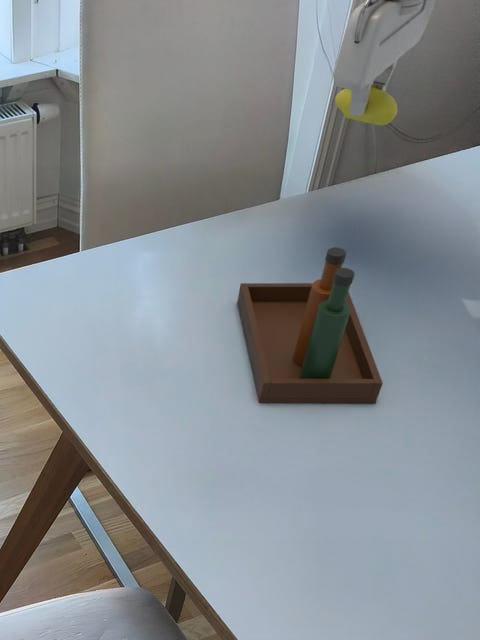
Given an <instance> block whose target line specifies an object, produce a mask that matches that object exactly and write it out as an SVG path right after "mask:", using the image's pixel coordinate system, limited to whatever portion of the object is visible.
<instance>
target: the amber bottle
mask: <svg viewBox="0 0 480 640" xmlns="http://www.w3.org/2000/svg"><path fill="white" fill-rule="evenodd" d="M346 256H347V250H345V249H344V248H342V247H339V246H338V247H337V246H334V247H330V248H328V249H327V251H326V254H325V258H324V260H325V262H324V267H323V270H322V273H321V278H320V279H316V280H314V281H313V282H312V283H313V284H312V287H311V291H310V294H309V298H308V302H307V306H306V310H305V314H304V318H303V321H302V325H301V329H300V333H299V337H298V341H297V344H296V348H295V352H294V356H293V360H294V362H295V363H296V364H297V365H299V366H303V363H304V359H305V355H306V352H307V348H308V344H309V341H310V337H311V333H312V329H313V326H314V322H315V318H316V315H317V311H318V307H319V304H320V303H321V302H323V301H325V300H328V299H329V296H330V292H331V288H332V285H333V277H334V274H335V271H336V270H337V269H339V268H343V267H342V266H343V264H344V262H345V260H346Z"/></svg>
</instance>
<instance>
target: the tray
mask: <svg viewBox="0 0 480 640" xmlns="http://www.w3.org/2000/svg"><path fill="white" fill-rule="evenodd" d="M312 284H313V282H290V283H289V282H287V283H286V282H281V283H280V282H278V283H277V282H276V283H275V282H273V283H272V282H271V283H270V282H268V283H267V282H265V283H263V282H261V283H259V282H258V283H253V282H252V283H250V282H249V283H248V282H247V283H246V282H244V283H243V282H242V283H240V286H239V291H238V295H237V303H236V304H237V308H238V312H239V317H240V322H241V326H242V331H243V335H244V339H245V340H244V341H245V345H246V350H247V354H248V359H249V362H250V367H251V372H252V377H253V381H254V385H255V390H256V395H257V400H258V403H261V404H262V403H263V404H264V403H265V404H266V403H267V404H268V403H269V404H376V403H377V401H378V397H379V395H380V392H381V389H382V387H383V384H384V383H383V380H382V377H381V375H380V372H379V370H378V366H377V363H376V361H375V358H374V356H373V352H372V350H371V348H370V346H369V343H368V340H367V337H366V335H365V332H364V330H363V329H364V328H363V327H362V324H361V321H360V319H359V316H358V313H357V311H356V308H355V305H354V303H353V300H352V296H351V294H350V291H348V295H347V298H346V302H345V303H347V304H348V305H349V306H350V308H351V311H350V314H349V318H348V321H347V324H346V328H345V331H344V334H343V338H342V341H341V344H340V347H339V351H338V354H337V357H336V361H335V364H334V367H333V371H332V374H331V377H330V379H299V377H300V374H301V370H302V366H299V365H297V364H296V363H295V362H294V360H293V356H294V352H295V348H296V344H297V341H298V337H299V333H300V329H301V325H302V321H303V318H304V314H305V310H306V306H307V302H308V298H309V294H310V291H311V287H312Z"/></svg>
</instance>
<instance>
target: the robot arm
mask: <svg viewBox="0 0 480 640" xmlns="http://www.w3.org/2000/svg"><path fill="white" fill-rule="evenodd" d="M436 1H437V0H364V1H363V2H362V3H361V4H359V5H358V6H357V7H356V8H355V9H354V10H353V11H352V14H351V15H350V16H349V20H348V22H347V25H346V28H345V31H344V35H343V37H342V42H341V45H340V48H339V52H338V56H337V59H336V62H335V67H334V70H333V86H334V87H337V88H341V89H350V90H351V93H352V100H351V104H350V109H349V113H350V114H351V115H354V116H362V115H363V114H364V113H365V112H366V111H367V109H368V105H369V102H370V98H371V97H369V93H370V87H375V88H377V89H380V90H383V91H385V92H387V91H386V90H387V87H388V84H389V81H390V79H391V77H392V75H393V73H394V71H395V69H396V66H397V63H398V60H399V59H400V58H401V57H403V55H404V54H406V53H407V52H408V51H409V50H411V49H412V48H413V47H414V46H415V45H416V44H418V43H419V42H420V40H421V38H422V36H423V34H424V32H425V31H426V28H427V26H428V23H429V20H430V19H431V18H430V17H431V15H432V12H433V10H434V6H435V4H436Z"/></svg>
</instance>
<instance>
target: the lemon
mask: <svg viewBox="0 0 480 640" xmlns="http://www.w3.org/2000/svg"><path fill="white" fill-rule="evenodd" d="M369 97H371V98H370V102H369V105H368V109H367V111H366V112H365V113H364V114H363V115H362V116H354V115H351V114H350V113H349V109H350V104H351V100H352V93H351V90H350V89H345V88H342V90H340V91H339V92H338V93H337V94H336V95H335V97H334V102H335V105H336V107H337V108H338V109H339V110H340V111H341V112H342V114H343V116H344V117H345V118H346V119H349V120H354V121H358V122H362V123H366V124H371V125H376V126H386V125H388V124H390V123H391V122H392V121H393V120H394V119H395V117H396V116H397V115H398V104H397V102H396V100H395V98H394V97H393V96H392V94H389V93H388V92H387V91H383V90H380V89H377V88H375V87H370V93H369Z"/></svg>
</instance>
